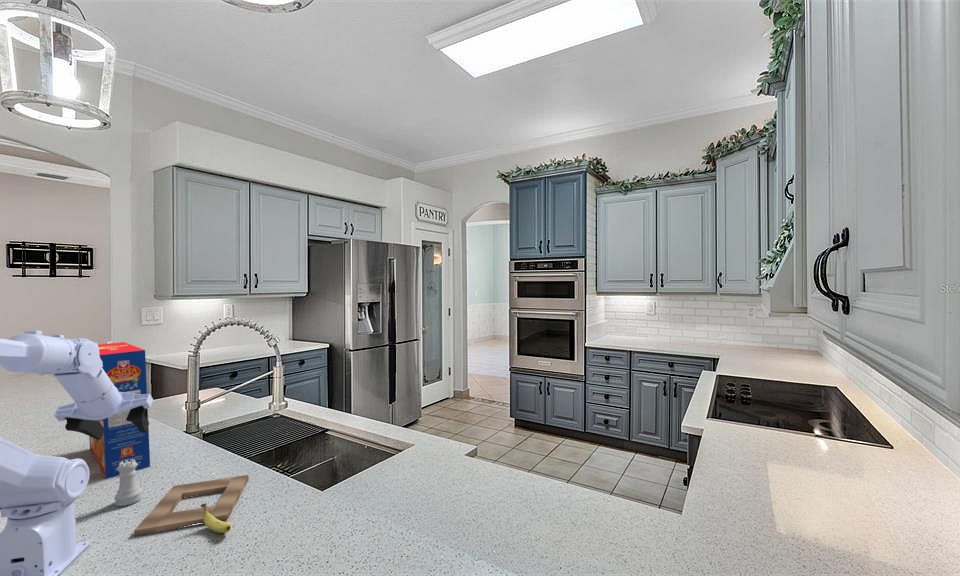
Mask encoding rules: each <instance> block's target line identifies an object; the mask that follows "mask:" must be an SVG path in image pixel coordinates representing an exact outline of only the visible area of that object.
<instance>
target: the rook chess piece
mask: <svg viewBox="0 0 960 576" xmlns="http://www.w3.org/2000/svg"><path fill="white" fill-rule="evenodd" d="M137 465H138V464H137V463H136V462H135V460H133V459H130V462H128V460H125V463H123V461H122V462H120V463H119V466H118V467H117V470H118V471H119V472H120V475H118V476H117V477H118V478H119V485H118V486H119V487H118V490H117V491H116V494H115V496H114V502H113V503H114V505H115V506H116V507H118V506H123V507H127V505H128V506H131V505H134V504H137V502H139V501H141V500H142V498H143V495H144V494H142V493H143V490H142V488H141V487H140V485H138V481H137V478H136V477H137V476H136V475H137V470H136V471H135V468H136V466H137Z"/></svg>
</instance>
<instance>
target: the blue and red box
mask: <svg viewBox="0 0 960 576" xmlns="http://www.w3.org/2000/svg"><path fill="white" fill-rule="evenodd" d="M98 347H99V356H100V359H101V360H102V362H103V363H102V364H103V367H102V368H103V370H104V371H105V373H106V374H107V376H108V377H109V378H110V380H111V381H112V383H113V384H114V386H115V387H116V388H117V389H118V392H126V393H134V394H148V389H147V387H148V385H147V365H146V363H147V362H146V359H147V358H146V350H145V349H143V348H141V347H138V346H136V345H134V344H133V345H132V344H130V343H128V342H125V341H120V342H110V343H109V342H108V343H99V344H98ZM129 411H130V410H127V411H125V412H122V413H119V414H116V415H114V416H111V417H108V418H105V419H102V420H99V422H100V423H101V424H102V426H103V428H104V430H105V431H104V433H103V436H102V438H101V439H100V440H96V439H94V438H92V437H90V436H89V439H88V440H89V450H91V451H90V453H91V455H92V456H93V458H94V457H95V458H94V460H95V459H96V460H95V461H97V462H96V463H97V466H98V467H99V469H100V471H101V472H102V474H103V477H104V479H106V480H107V479H111V478H114V476H115V477H118V476H119V475H120V472H119V471H118V470H117V467H118V466H119V463H120V462H122V461H123V463H125V460H128V462H130V459H133V460H135V462H136V463H137V464H138V465H137V466H136V468H135V471H136V472H137V471H139V470H143V469H146V468H150V467H151V458H150V457H151V454H150V434H149V433H150V431H149V427H148V429H147V432H143V433H142V432H141V431H140V430H139V429H138V427H137V426H136V425H135V424H133V423H132V422H129V421H127V420H126V419H127V416H128V414H129ZM117 475H118V476H117ZM110 477H111V478H110Z"/></svg>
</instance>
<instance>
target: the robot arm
mask: <svg viewBox="0 0 960 576" xmlns="http://www.w3.org/2000/svg"><path fill="white" fill-rule="evenodd" d="M98 345H99V344H98V343H97V341H95V342H94V341H92V340H90V339H88V338H84V337H81V338H78V337H77V338H65V335H64V334H52V335H49V336H48V335H43V331H42V330H26V331H23V333H18V334H16V335H13V336H11V337H9V338H5V339H4V338H0V366H1V368H3V369H5V370H6V371H8V372H10V373H24V374H25V373H26V374H27V373H29V374H31V373H32V374H34V373H35V374H38V375H39V376H43V375H44V376H45V375H53V377H54V378H55V379H56V380H57V382H58V383H60V385H61V387H62V388H64V390H65V392H67V394H68V395H69V396H70V398H71V399H72V400H73V401H74V402H73V403H69V404H66V405H61V406H60V405H59V406H58V407H57V409H56V410H55V412H54V414H53V417H54V418H55V419H56V420H57V421H58V422H64V421H66V424H65V425H64V428H65V430H66V431H67V432H69V431H70V432H77V433H80V434H84V435H85V436H87V437H88V436H90V437H92V438H94V439H96V440H100V439H101V438H102V436H103V433H104V431H105V430H104V428H103V426H102V424H101V423H100V422H99V420H102V419H105V418H108V417H111V416H114V415H116V414H119V413H122V412H125V411H127V410H130V411H129V414H128V416H127V419H126V420H127V421H129V422H132V423H133V424H135V425H136V426H137V427H138V429H139V430H140V431H141V432H142V433H143V432H147V429H148V428H149V426H150V421H149V409H150V408H151V407H152V405H153V401H154V398H153V396H152V395H151V393H147V394H134V393H126V392H118V389H117V388H116V387H115V386H114V384H113V383H112V381H111V380H110V378H109V377H108V376H107V374H106V373H105V371H104V370H103V368H102V367H103V364H102V363H103V362H102V360H101V359H100V356H99V347H98ZM89 481H90V468H89V466H88V464H87V462H86V461H85V460H84V459H83V458H73V459H68V458H66V457H64V456H63V457H62V456H52V455H51V456H50V455H40V454H36V453H33V452H31V451H29V450H27V449H25V448H23V447H21V446H19V445H17V444H15V443H13V442H11V441H8V440H6V439H4V437H1V436H0V518H7V519H6V524H5V526H4V528H3V529H2V531H1V532H0V576H59V575H60V574H62V572H63V571H65V570H66V569H67V568H68V567H69V565H71V563H72V562H73V561H74V560H75V559H76V558H78V556H80V554H82V553H83V551H84V550H85V549H87V548H88V547H89V546H90V545H91V541H90V540H86V541H80V542H79V541H78V542H77V526H76V525H77V523H76V521H77V519H76V505H75V504H76V500H77V499H79V498H80V497H81V495H82V494H83V493H84V491H85V490H86V488H87V486H88V484H89Z"/></svg>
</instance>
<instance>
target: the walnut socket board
mask: <svg viewBox="0 0 960 576" xmlns="http://www.w3.org/2000/svg"><path fill="white" fill-rule="evenodd" d="M249 480H250V479H249V474H246V475H238V476H231V477H224V478H219V479H218V478H217V479H212V480H205V481H197V482H191V483H185V484H183V483H182V484H177V485H173V486H172V487H171V488H170V489H169V491H167V493H166V494H165V495H164V496H163V497H162V499H161V500H160V501H159V502H158V503H157V504H156V505H155V506H154V507H153V508H152V510H151V511H150V512H149V513H148V515H146V516H145V518H143V520H142V521H141V522H140V523H139V524H138V526H137V527H136V528H135V529H134V536H135V537H138V536H137V535H139V536H143V534H144V535H149V534H155V533H156V534H157V533H161V531H162V532H166V531H172V529H173V530H177V529H176V528H179V529H181V528H180V527H184V526H188V525H192V524H197V523H204V509H203V507H198V508H197V507H196V508H191V509H186V510H180V511H174V510H175V509H176V507H177V506H178V505H179V504H180V502H181V501H182V500H183V499H185V498H184V497H187V498H192V497H191V496H194V497H197V495H200V496H205V495H204V494H206V495H213V494H217V493H222V495H221V496H220V498H219V500H218V501H217V503H216V504H215V505H209V506H206V507H207V511H208V512H209V513H210V514H211V515H212V516H214V517H215V518H216V519H218V520H224V521H228V520H229V519H230V516H231V515H230V514H232V512H233V511H234V508H235V507H236V505H237V503H238V501H239V499H240V497H241V496H242V493H243V491H244V489H245V487H246V485H247V483H248V482H249ZM181 499H182V500H181ZM227 519H228V520H227ZM184 528H185V527H184Z"/></svg>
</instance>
